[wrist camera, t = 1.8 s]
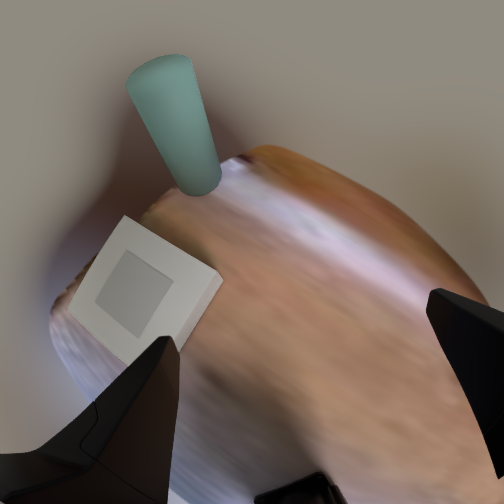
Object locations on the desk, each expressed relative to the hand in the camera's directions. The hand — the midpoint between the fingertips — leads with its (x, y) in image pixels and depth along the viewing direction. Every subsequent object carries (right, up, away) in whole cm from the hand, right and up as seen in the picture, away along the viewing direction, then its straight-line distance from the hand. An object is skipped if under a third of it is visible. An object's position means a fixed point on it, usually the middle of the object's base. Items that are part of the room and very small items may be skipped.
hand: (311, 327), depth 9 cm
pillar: (-7, +10, +19) cm, 22 cm away
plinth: (-11, -2, +15) cm, 19 cm away
